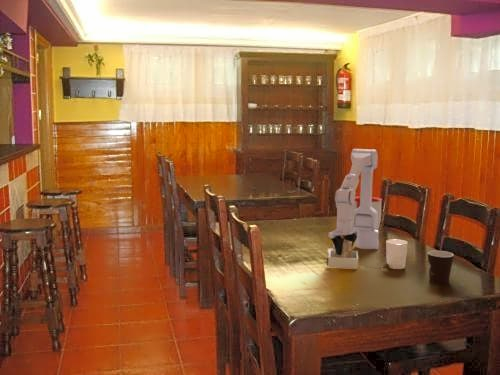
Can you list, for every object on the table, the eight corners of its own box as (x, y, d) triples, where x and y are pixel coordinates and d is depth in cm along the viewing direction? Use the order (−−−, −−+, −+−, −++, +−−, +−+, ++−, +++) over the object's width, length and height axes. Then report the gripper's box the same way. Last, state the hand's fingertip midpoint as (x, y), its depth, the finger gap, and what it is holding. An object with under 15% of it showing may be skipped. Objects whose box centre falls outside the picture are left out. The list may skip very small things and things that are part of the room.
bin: (357, 260, 213) (357, 251, 213) (358, 268, 202) (358, 258, 202) (329, 259, 215) (329, 249, 215) (328, 267, 204) (328, 257, 204)
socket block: (343, 254, 212) (343, 239, 211) (351, 257, 208) (352, 241, 207) (334, 256, 209) (335, 240, 208) (343, 259, 205) (343, 243, 205)
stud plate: (344, 251, 227) (344, 237, 226) (344, 256, 220) (344, 241, 219) (327, 251, 228) (328, 236, 227) (327, 255, 221) (327, 240, 220)
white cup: (406, 265, 208) (408, 240, 206) (405, 270, 200) (407, 244, 199) (386, 263, 210) (387, 238, 209) (384, 268, 203) (385, 243, 202)
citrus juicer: (344, 235, 257) (345, 194, 254) (352, 228, 273) (353, 189, 270) (377, 238, 251) (379, 196, 248) (383, 230, 267) (384, 191, 264)
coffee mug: (449, 286, 182) (450, 258, 181) (423, 282, 187) (424, 254, 185) (456, 277, 192) (457, 250, 191) (431, 273, 197) (433, 247, 195)
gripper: (338, 223, 199) (337, 258, 201) (365, 219, 207) (364, 253, 209) (325, 220, 205) (324, 254, 207) (352, 216, 213) (351, 249, 215)
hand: (343, 253), depth 208 cm, fingers closed on socket block, 4 cm apart
